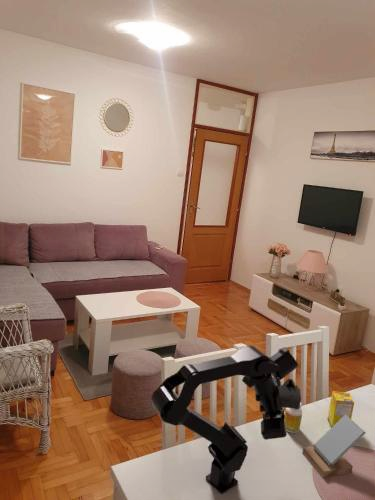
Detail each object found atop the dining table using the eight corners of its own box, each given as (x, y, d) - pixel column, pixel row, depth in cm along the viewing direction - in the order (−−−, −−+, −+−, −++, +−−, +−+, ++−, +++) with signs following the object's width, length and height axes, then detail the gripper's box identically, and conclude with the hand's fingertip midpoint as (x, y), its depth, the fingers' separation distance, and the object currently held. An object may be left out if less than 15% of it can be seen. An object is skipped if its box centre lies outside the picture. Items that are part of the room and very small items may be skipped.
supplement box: (343, 420, 139) (349, 392, 137) (349, 431, 133) (354, 402, 131) (326, 418, 139) (332, 390, 137) (331, 428, 134) (336, 400, 131)
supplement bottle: (295, 435, 128) (300, 409, 126) (280, 428, 131) (284, 402, 129) (301, 428, 132) (306, 402, 130) (286, 421, 136) (291, 395, 134)
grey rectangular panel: (329, 465, 112) (364, 431, 114) (312, 445, 120) (345, 414, 121) (331, 467, 113) (366, 433, 114) (314, 447, 120) (346, 416, 121)
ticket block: (322, 477, 111) (323, 471, 111) (302, 453, 120) (303, 447, 120) (351, 472, 114) (352, 466, 114) (329, 448, 124) (330, 443, 123)
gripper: (299, 411, 95) (313, 453, 101) (291, 357, 112) (303, 396, 118) (254, 418, 98) (270, 458, 104) (252, 364, 115) (267, 402, 121)
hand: (279, 426), depth 112 cm, fingers closed
